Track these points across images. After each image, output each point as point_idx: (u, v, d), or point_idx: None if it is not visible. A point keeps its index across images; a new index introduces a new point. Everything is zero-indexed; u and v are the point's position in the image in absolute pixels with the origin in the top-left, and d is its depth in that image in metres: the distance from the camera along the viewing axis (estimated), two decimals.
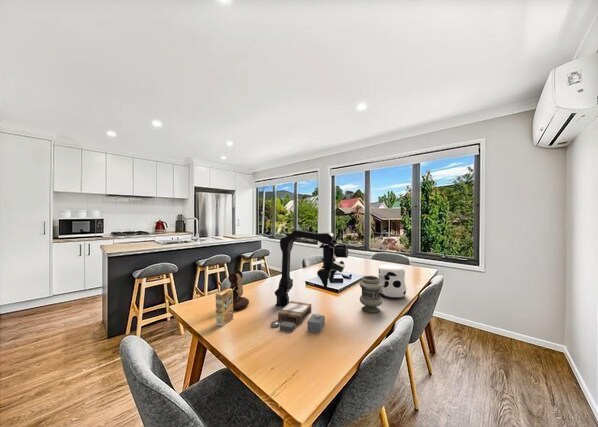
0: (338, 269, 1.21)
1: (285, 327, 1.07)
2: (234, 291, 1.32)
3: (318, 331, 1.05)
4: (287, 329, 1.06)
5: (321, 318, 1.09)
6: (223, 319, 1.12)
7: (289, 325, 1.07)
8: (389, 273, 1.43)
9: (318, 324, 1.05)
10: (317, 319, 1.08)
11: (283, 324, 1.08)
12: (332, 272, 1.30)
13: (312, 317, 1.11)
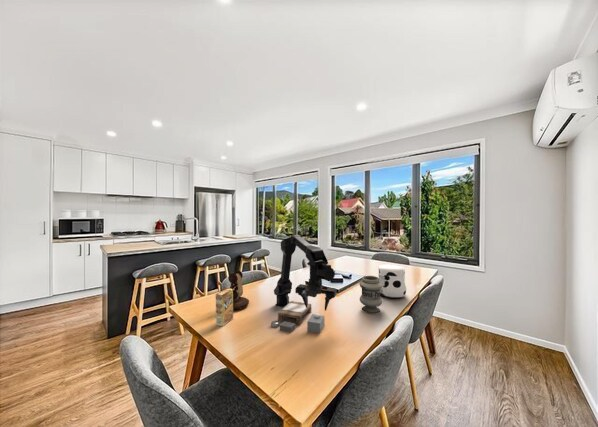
0: None
1: (285, 327, 1.07)
2: (234, 291, 1.32)
3: (318, 331, 1.05)
4: (287, 329, 1.06)
5: (321, 318, 1.09)
6: (223, 319, 1.12)
7: (289, 325, 1.07)
8: (389, 273, 1.43)
9: (318, 324, 1.05)
10: (317, 319, 1.08)
11: (283, 324, 1.08)
12: None
13: (312, 317, 1.10)
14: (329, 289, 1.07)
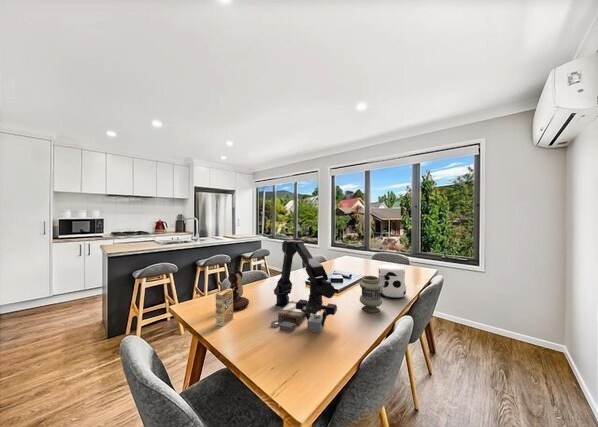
0: None
1: (285, 327, 1.07)
2: (234, 291, 1.32)
3: (318, 331, 1.05)
4: (287, 329, 1.06)
5: (321, 318, 1.09)
6: (223, 319, 1.12)
7: (289, 325, 1.07)
8: (389, 273, 1.43)
9: (318, 324, 1.05)
10: (317, 319, 1.08)
11: (283, 324, 1.08)
12: None
13: (312, 317, 1.10)
14: (329, 305, 1.07)
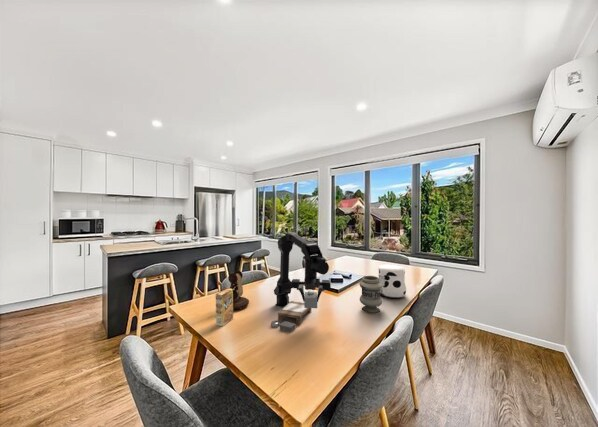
0: (305, 285, 1.06)
1: (285, 327, 1.07)
2: (234, 291, 1.32)
3: (315, 306, 1.08)
4: (287, 329, 1.06)
5: (315, 294, 1.13)
6: (223, 319, 1.12)
7: (289, 326, 1.07)
8: (389, 273, 1.43)
9: (315, 299, 1.08)
10: (312, 295, 1.11)
11: (283, 324, 1.09)
12: (318, 290, 1.12)
13: (306, 294, 1.13)
14: (324, 281, 1.11)
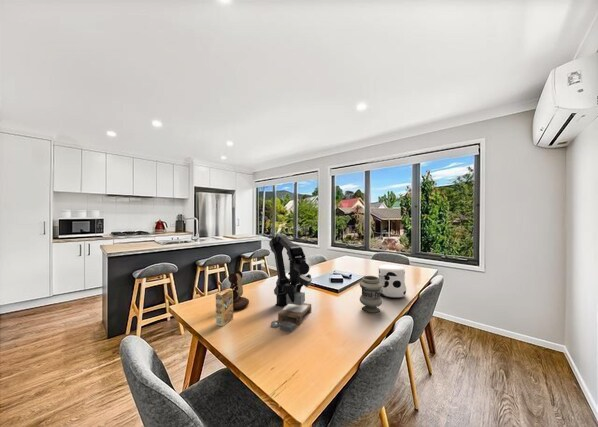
0: (304, 283, 1.18)
1: (284, 327, 1.07)
2: (234, 291, 1.32)
3: (304, 300, 1.23)
4: (287, 329, 1.06)
5: (296, 292, 1.25)
6: (223, 319, 1.12)
7: (289, 326, 1.07)
8: (389, 273, 1.43)
9: (304, 294, 1.23)
10: (297, 293, 1.23)
11: (283, 324, 1.09)
12: (298, 286, 1.25)
13: None
14: None
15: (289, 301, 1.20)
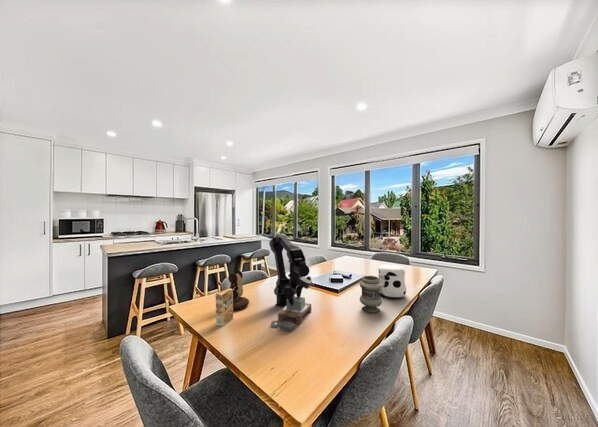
0: (304, 286, 1.18)
1: (284, 327, 1.07)
2: (234, 291, 1.32)
3: (304, 305, 1.23)
4: (287, 329, 1.06)
5: (296, 297, 1.25)
6: (223, 319, 1.12)
7: (288, 326, 1.07)
8: (389, 273, 1.43)
9: (304, 299, 1.23)
10: (297, 298, 1.23)
11: (283, 324, 1.09)
12: (299, 287, 1.27)
13: None
14: None
15: (289, 306, 1.20)
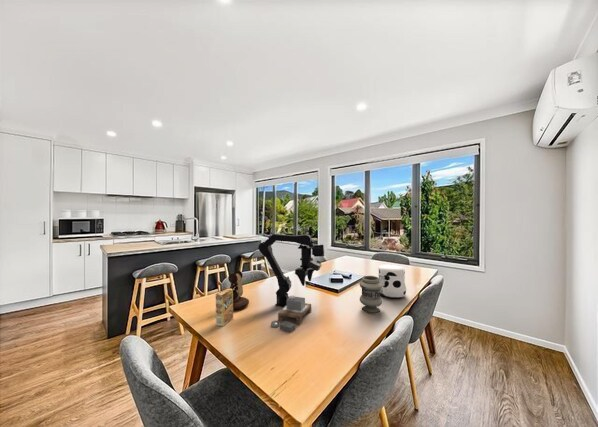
0: (314, 268, 1.30)
1: (284, 327, 1.07)
2: (234, 291, 1.32)
3: (304, 305, 1.23)
4: (286, 329, 1.06)
5: (296, 297, 1.25)
6: (223, 319, 1.12)
7: (288, 326, 1.07)
8: (389, 273, 1.43)
9: (304, 299, 1.23)
10: (297, 298, 1.23)
11: (283, 324, 1.09)
12: (310, 271, 1.39)
13: (293, 300, 1.20)
14: None
15: (289, 306, 1.20)
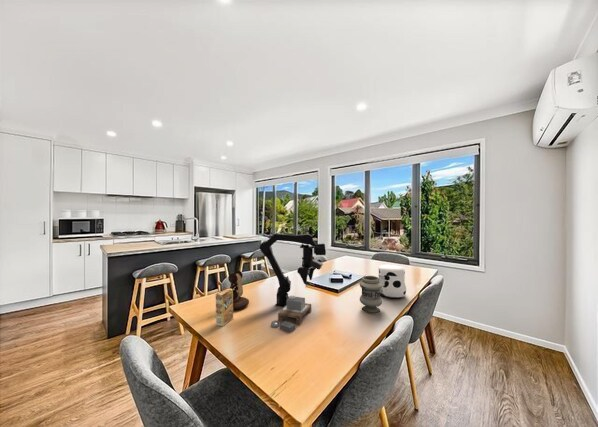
0: (316, 267, 1.33)
1: (284, 327, 1.07)
2: (234, 291, 1.32)
3: (304, 305, 1.23)
4: (286, 329, 1.06)
5: (296, 297, 1.25)
6: (223, 319, 1.12)
7: (288, 326, 1.07)
8: (389, 273, 1.43)
9: (304, 299, 1.23)
10: (297, 298, 1.23)
11: (283, 324, 1.09)
12: (311, 270, 1.42)
13: (293, 300, 1.20)
14: None
15: (289, 306, 1.20)
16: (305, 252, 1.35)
